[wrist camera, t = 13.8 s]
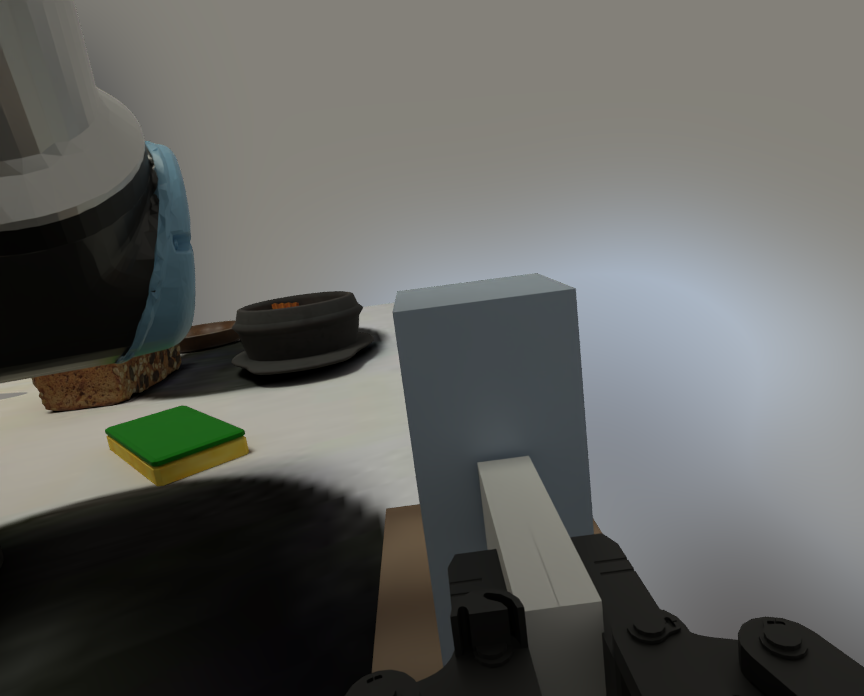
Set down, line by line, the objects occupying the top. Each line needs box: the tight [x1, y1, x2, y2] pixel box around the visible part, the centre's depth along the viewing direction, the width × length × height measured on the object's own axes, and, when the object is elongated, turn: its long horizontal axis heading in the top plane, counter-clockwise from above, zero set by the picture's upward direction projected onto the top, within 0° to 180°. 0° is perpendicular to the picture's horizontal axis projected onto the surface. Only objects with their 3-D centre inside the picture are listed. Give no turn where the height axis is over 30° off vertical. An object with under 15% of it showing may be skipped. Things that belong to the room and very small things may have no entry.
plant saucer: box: [179, 321, 240, 353], centre depth 104 cm, size 18×18×3 cm
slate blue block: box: [393, 273, 594, 667], centre depth 19 cm, size 5×5×12 cm
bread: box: [32, 343, 181, 411], centre depth 75 cm, size 19×11×10 cm, turn 2°
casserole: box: [232, 291, 374, 375], centre depth 77 cm, size 25×19×8 cm
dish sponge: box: [105, 406, 249, 486], centre depth 49 cm, size 7×14×2 cm, turn 42°
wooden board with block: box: [372, 504, 602, 682], centre depth 22 cm, size 18×10×6 cm, turn 2°
